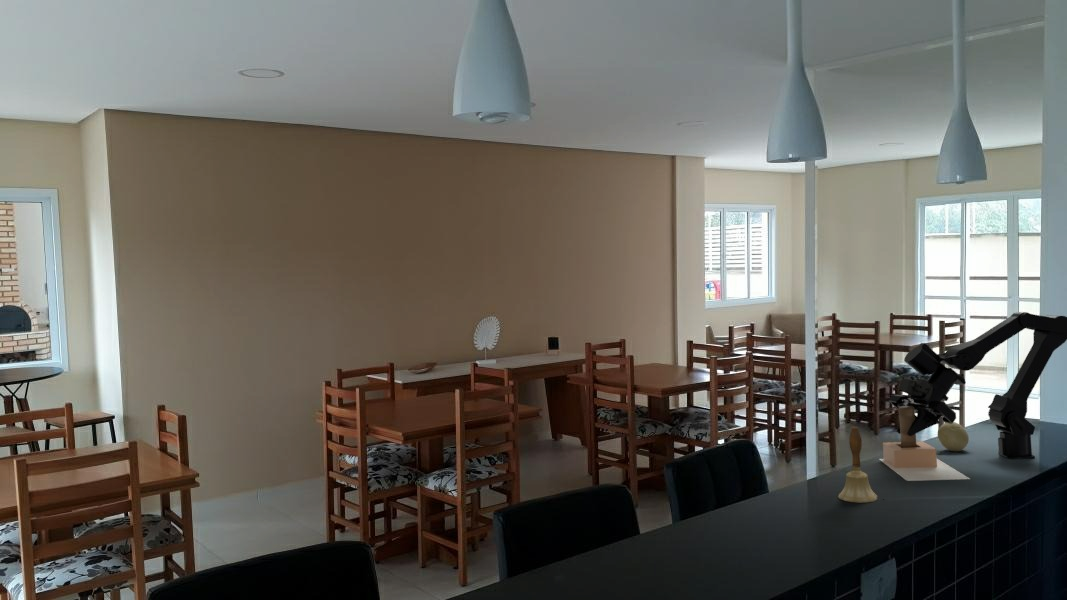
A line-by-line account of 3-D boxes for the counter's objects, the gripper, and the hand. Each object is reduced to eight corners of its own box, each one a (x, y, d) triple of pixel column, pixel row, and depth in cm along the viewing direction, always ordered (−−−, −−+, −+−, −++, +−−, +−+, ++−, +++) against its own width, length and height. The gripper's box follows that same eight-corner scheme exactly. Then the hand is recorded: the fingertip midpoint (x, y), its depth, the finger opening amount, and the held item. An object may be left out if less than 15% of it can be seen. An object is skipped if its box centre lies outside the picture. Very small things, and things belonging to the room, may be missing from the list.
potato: (934, 452, 217) (932, 423, 217) (945, 447, 223) (943, 418, 223) (963, 455, 212) (961, 425, 212) (974, 449, 217) (972, 420, 217)
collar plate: (934, 458, 210) (933, 440, 210) (970, 480, 186) (969, 459, 186) (878, 460, 212) (877, 442, 212) (907, 482, 188) (905, 461, 188)
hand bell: (871, 492, 182) (866, 423, 182) (883, 502, 174) (878, 429, 174) (833, 494, 183) (829, 425, 183) (844, 503, 175) (839, 431, 174)
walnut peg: (914, 455, 206) (911, 405, 206) (919, 458, 203) (916, 408, 203) (900, 456, 207) (896, 406, 207) (904, 459, 203) (901, 408, 203)
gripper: (892, 364, 215) (859, 409, 212) (943, 370, 197) (907, 419, 194) (919, 390, 217) (887, 435, 214) (972, 398, 198) (937, 447, 196)
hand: (903, 433), depth 205 cm, fingers closed on walnut peg, 4 cm apart
